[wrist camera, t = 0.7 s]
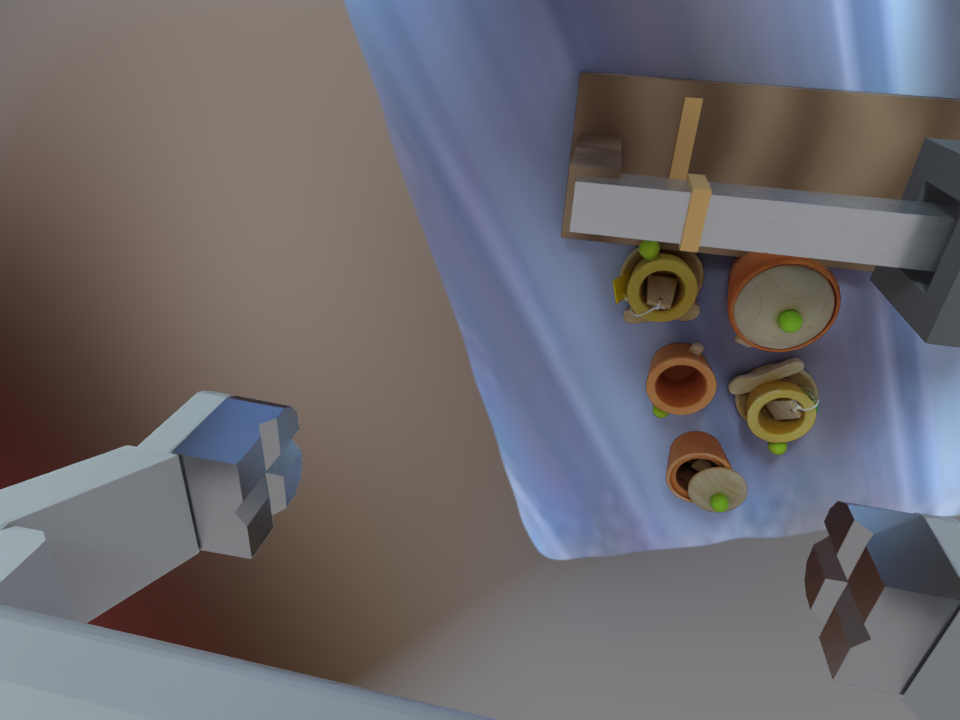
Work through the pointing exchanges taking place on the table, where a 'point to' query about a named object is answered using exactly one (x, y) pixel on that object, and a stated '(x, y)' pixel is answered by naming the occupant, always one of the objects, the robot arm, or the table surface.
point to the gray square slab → (956, 283)
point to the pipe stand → (756, 170)
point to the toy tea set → (757, 323)
